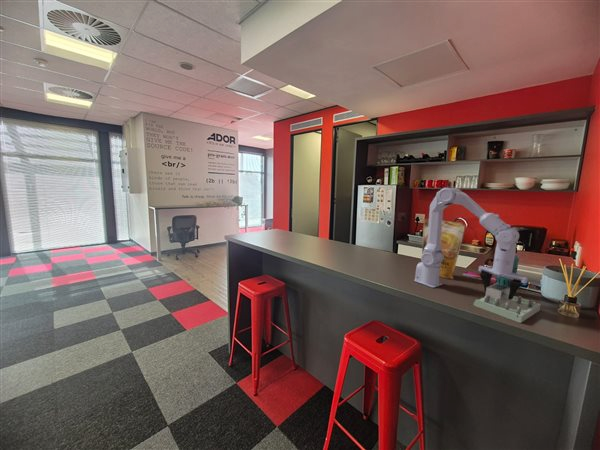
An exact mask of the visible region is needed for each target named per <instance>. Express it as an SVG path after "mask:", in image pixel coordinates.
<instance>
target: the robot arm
mask: <svg viewBox="0 0 600 450" xmlns="http://www.w3.org/2000/svg"><path fill="white" fill-rule="evenodd" d="M450 205H460V206H463V207H464V208H465V209H467V210H468V211H469V212H471V213H472V214H473V215H474V216H476V217H477V218H478V220H479V224H480V225H481V226H482V227H483V228H484V229H485V230H486V231H488V232H489V233H490V234H491V235H492V236H494V238H495V241H496V246H495V251H494V257H493V262H492V263H493V265H492V267H489V266H485V265H484V266H483V265H479V266H478V270H477V271H478V272H480V273H479V274H480V276H481V278H482V280H481V281H482V283H483V288H484V289H483V290H484V292H486V288H487V287H488V286H491V282H490V281H491V277H492V278H493V276H496V277H497V276H501V277H505V278H508V279H512V280H513V281H510V292H509V297H508V299H513V297H514V296H516V293H517V291H518V290H519V288H520V287H521V286H522V285H523V284H526V283H527V282H528V277H527V276H524V275H522V274H518V273H517V274H515V273H512V269H513V263H514V258H515V255H516V253H515V252H516V249H515V248H517V242H518V240H519V239H520V232H519V231H518V230H517V229H516V228H515V227H511V224H510V223H509V224H507V223H506V222H505V221H503V220H502V219H501V218H500V215H499V214H498V213H494V212H487V211H486V210H485V209H483V207H482V206H480V204H478V203H477V202H475V200H474V199H472V198H471V197H470V196H469V195H468V194H467V193H465V192H463V191H462V190H461V189H460V188H457V187H443V188H441V189H440V190H438V191H437V192H436V194H435V197H433V199H432V201H431V202H430V205H429V213H428V219H429V225H428V239H427V245H426V246H425V248H424V252H423V254H422V253H421V255H420V256H421V257H420V260H421V261H419V262H418V263H417V265H416V268H415V273H414V274H415V275H414V276H415V277H414V280H413V281H414V282H416V283H419V284H422V285H424V286H426V287H430V288H432V289H434V288H436V287H440V286H442V285H443V283H442V282H440V277H439V276H440V267H441V264H440V262H442V261H443V259H444V254H443V252H442V246H441V231H442V220H443V219H444V218H443V216H444V210H445V209H447V208H448V207H449V206H450Z"/></svg>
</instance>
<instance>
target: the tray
mask: <svg viewBox="0 0 600 450" xmlns="http://www.w3.org/2000/svg"><path fill="white" fill-rule="evenodd" d="M487 301H488V296H485V295H484V297H481V298H480V299H475V301H473V306H474V307H477V308H479V309H482V310H485V311H487V312H490V313H493V314H496V315H498V316H501V317H503V318H506V319H509V320H511V321H514V322H517V323H520V324H522V323H523V322H525V321H526V320H527V319H529V318H531V317H532V316H534V315H535V314H536V313H538V312H540V310H541V305H542V304H541V303H538V302H535V301H534V300H533V299H525V298H523V296H520V295H518V296H516V295H514V297H513V299H509V301H508V302H506V303H504V304H502V305H500V306H498V299H495V302H494V304H492V303H489V302H487Z"/></svg>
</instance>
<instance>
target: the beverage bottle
mask: <svg viewBox="0 0 600 450" xmlns="http://www.w3.org/2000/svg"><path fill="white" fill-rule="evenodd" d="M515 249H516V252H515V258H514V263H513V269H512V273H515V274H518V266H519V260H520V258H519V256H517V255H516V254H517V253H518V247H516V248H515ZM495 279H496V283H499V284H502V285H506V286H509V287H510V281H513V280H512V279H508V278H505V277H501V276H497V275H496V278H495ZM496 283H495V284H496Z"/></svg>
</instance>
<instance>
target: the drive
mask: <svg viewBox="0 0 600 450" xmlns="http://www.w3.org/2000/svg"><path fill="white" fill-rule="evenodd" d="M509 292H510V287H509V286H506V285H502V284H499V283H496V284H494V283H493V284H490V286H488V287H487V288H486V291H485V295H484V297H485V296H488V301H487V302H489V303H492V304H494V302H495V299H498V306H500V305H502V304H504V303H506V302H508V301H509V299H508V297H509Z"/></svg>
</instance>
